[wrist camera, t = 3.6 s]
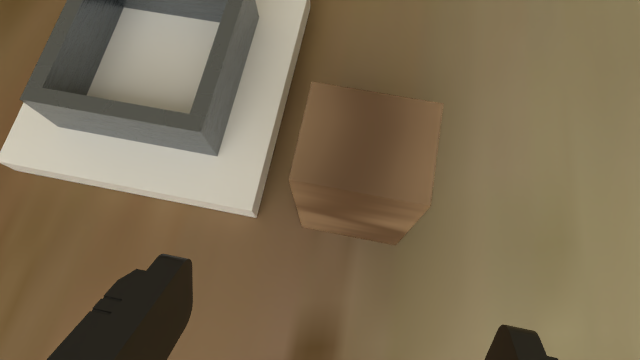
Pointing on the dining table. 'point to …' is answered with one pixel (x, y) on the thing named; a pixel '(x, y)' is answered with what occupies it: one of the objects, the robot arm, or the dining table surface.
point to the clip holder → (162, 98)
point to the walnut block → (364, 162)
